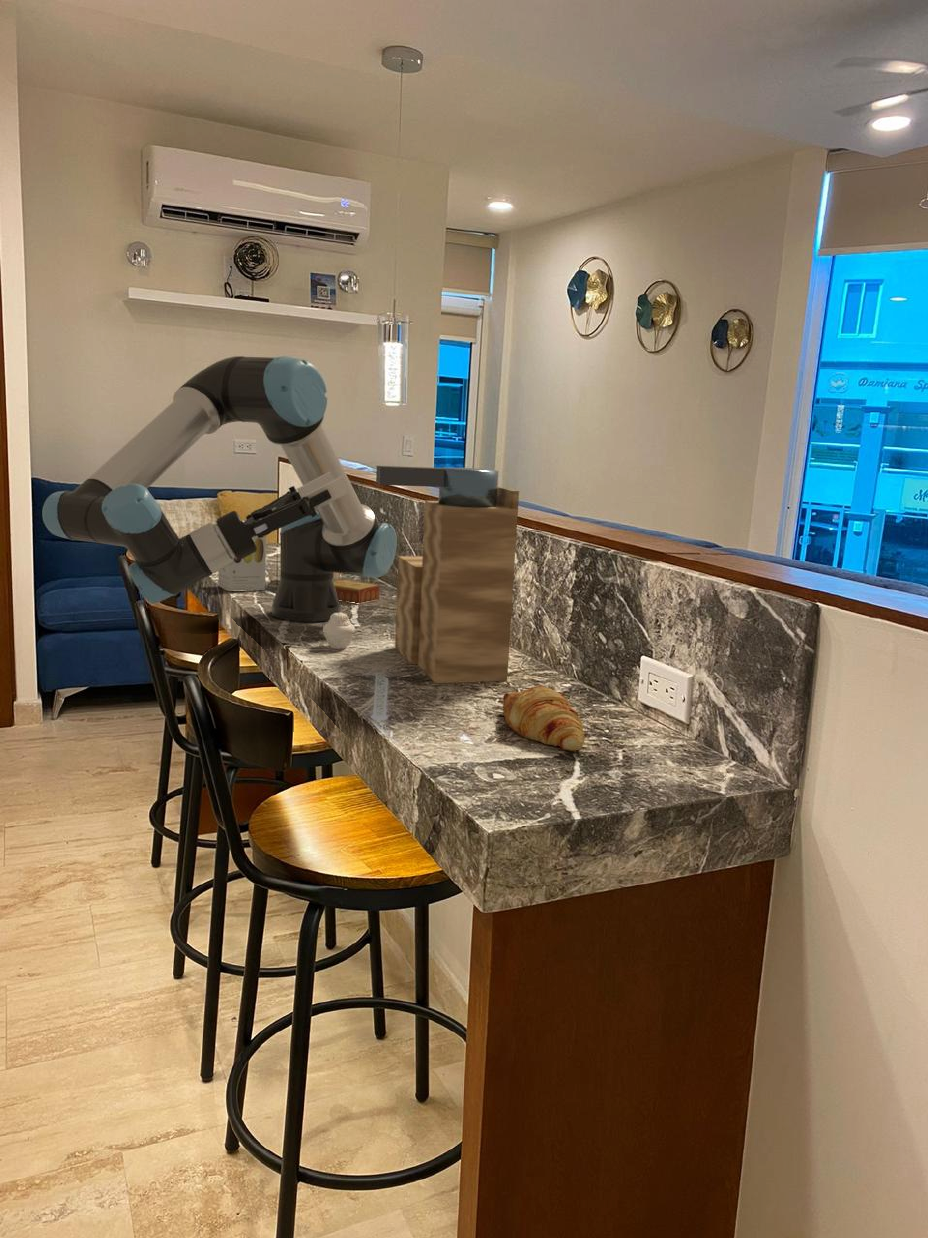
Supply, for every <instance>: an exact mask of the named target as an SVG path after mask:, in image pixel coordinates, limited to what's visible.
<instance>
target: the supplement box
mask: <svg viewBox="0 0 928 1238" xmlns="http://www.w3.org/2000/svg"><path fill="white" fill-rule="evenodd" d="M244 521H245V520H242V522H244ZM252 540H253V541H254V543H255V545H256V547H257V551H256V552H254V553H252V554H250V555H249V556H247V557H245V558H243V559H241V560H240V559H237V557H236V558H234V559H233V560H234V563H233V564H231V565H229V566H227V567H223V568H224V570H225V572H224V573H219V572H218V579H217V580H218V587H219V588H222V589H223V590H226V591H227V590H228V591H227V592H229V591H233V590H265V591H266V567H267V566H266V559H267V535H265V536H264V537H262V538H258V536H254V537H252Z"/></svg>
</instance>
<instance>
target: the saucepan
mask: <svg viewBox="0 0 928 1238" xmlns="http://www.w3.org/2000/svg"><path fill="white" fill-rule="evenodd" d="M375 471H376V474H375V476H376V477H375V479H376V480H375V484H376V485H379V486H396V487H397V486H398V487H428V488H429V487H431V488H433V487H434V488H435V487H436V488H438V500H437V501H438V503H439V504H442V505H447V506H457V507H474V508H489V507H496V504H497V487H498V484H499V483H498V482H499V470H496V469H495V470H494V469H485V468H472V467H451V466H449V467H445V466H444V467H424V466H423V467H421V466H398V465H397V466H395V465H392V466H391V465H376V470H375Z"/></svg>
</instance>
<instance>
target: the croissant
mask: <svg viewBox="0 0 928 1238" xmlns="http://www.w3.org/2000/svg"><path fill="white" fill-rule="evenodd" d="M502 698H503V705H502V713H503V715H504V718H505V722H506V724H507V725H508V726H509V727H510V729H512V730H513V731H515V732H516V733H517V734H519V735H520V736H521V737H523V738H526V739H529V740H531V741H536V742H541V743H542V744H544V745H549V746H553V747H558V746H559V747H560V748H561V749H563V750H564V751H565V750H566V751H570V752H572V751H578V750H580V749H582V748H583V747H584V743H585V739H586V737H585V732H584V725H583V723H582V720H581V719H580V717H579V713H578V712H576V710H574V709H573V708H572V706H571V705H570V703H569V701H568V698H567V697H566V696H564V695H563V694H561V693H559V692H557V691H555V690H554V689H552V688H548V687H546V686H544V685H539V686H534V687H531V688H528V689H526V690H522V691H521V692H519V691H515V692H508V693H505V694H503V697H502Z"/></svg>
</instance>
